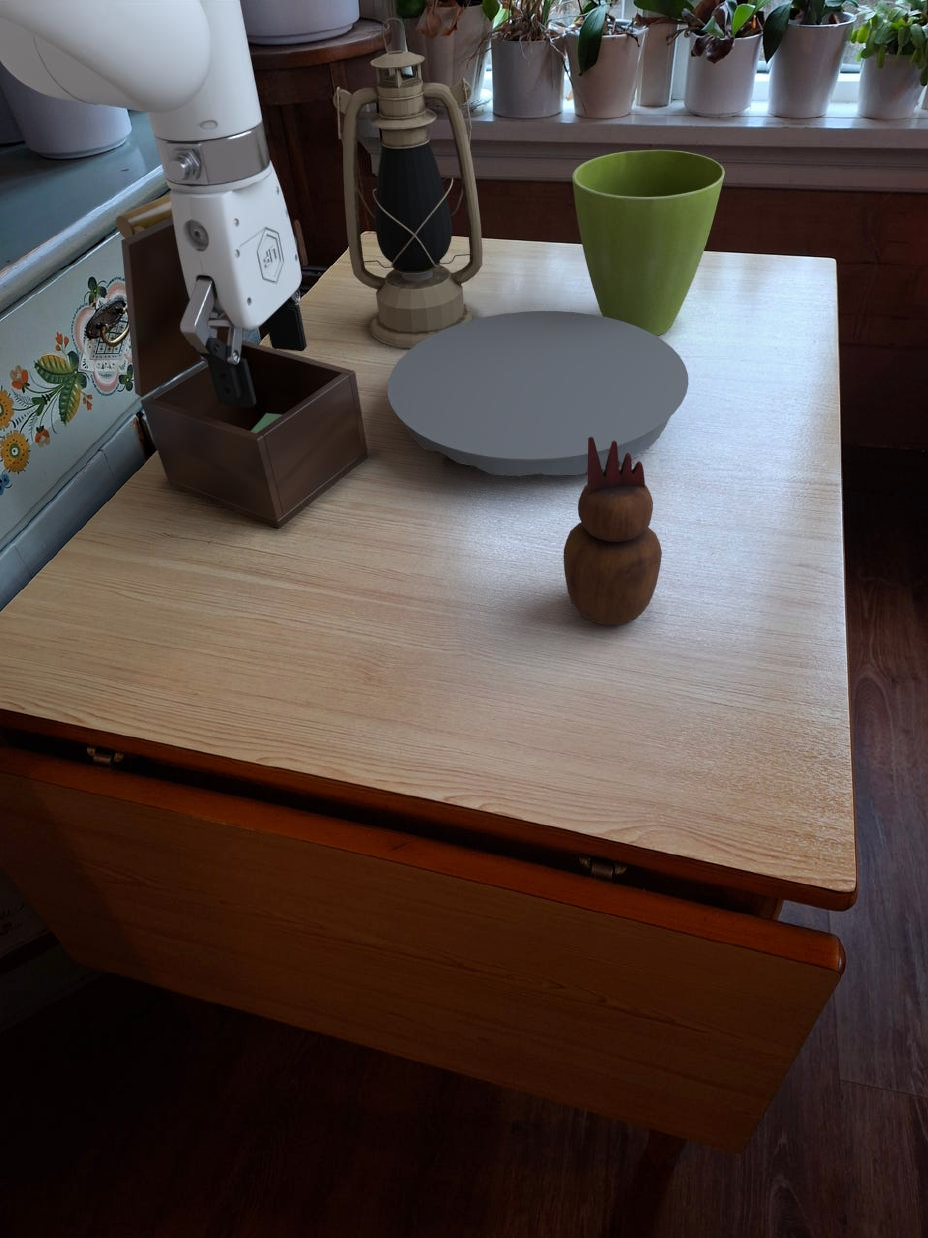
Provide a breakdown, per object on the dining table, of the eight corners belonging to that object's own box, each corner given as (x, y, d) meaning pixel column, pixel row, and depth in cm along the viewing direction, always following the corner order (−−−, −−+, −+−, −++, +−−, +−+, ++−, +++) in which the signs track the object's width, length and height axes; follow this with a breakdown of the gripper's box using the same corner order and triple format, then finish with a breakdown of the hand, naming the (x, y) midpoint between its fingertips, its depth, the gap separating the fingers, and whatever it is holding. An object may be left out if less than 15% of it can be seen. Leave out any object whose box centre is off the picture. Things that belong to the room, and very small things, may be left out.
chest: (368, 456, 85) (355, 370, 79) (279, 528, 78) (256, 440, 72) (261, 421, 91) (241, 339, 85) (169, 485, 83) (139, 400, 77)
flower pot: (547, 340, 100) (547, 187, 89) (601, 287, 109) (607, 143, 98) (678, 365, 94) (695, 205, 83) (723, 307, 103) (744, 156, 92)
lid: (247, 189, 73) (201, 161, 74) (128, 244, 66) (78, 212, 67) (243, 336, 84) (203, 310, 85) (141, 397, 77) (98, 368, 78)
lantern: (484, 298, 109) (470, -1, 88) (487, 343, 100) (473, 24, 80) (363, 306, 109) (321, 11, 89) (357, 352, 101) (309, 36, 80)
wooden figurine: (555, 628, 66) (557, 453, 56) (572, 578, 70) (576, 406, 60) (648, 643, 65) (667, 465, 55) (660, 591, 69) (679, 416, 59)
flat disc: (345, 476, 83) (337, 434, 80) (451, 338, 102) (448, 300, 98) (651, 525, 75) (655, 480, 72) (705, 365, 93) (710, 325, 90)
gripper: (201, 198, 57) (259, 434, 69) (312, 121, 69) (345, 333, 81) (100, 194, 59) (173, 423, 71) (225, 119, 71) (270, 326, 83)
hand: (265, 375), depth 76 cm, fingers open, 9 cm apart
